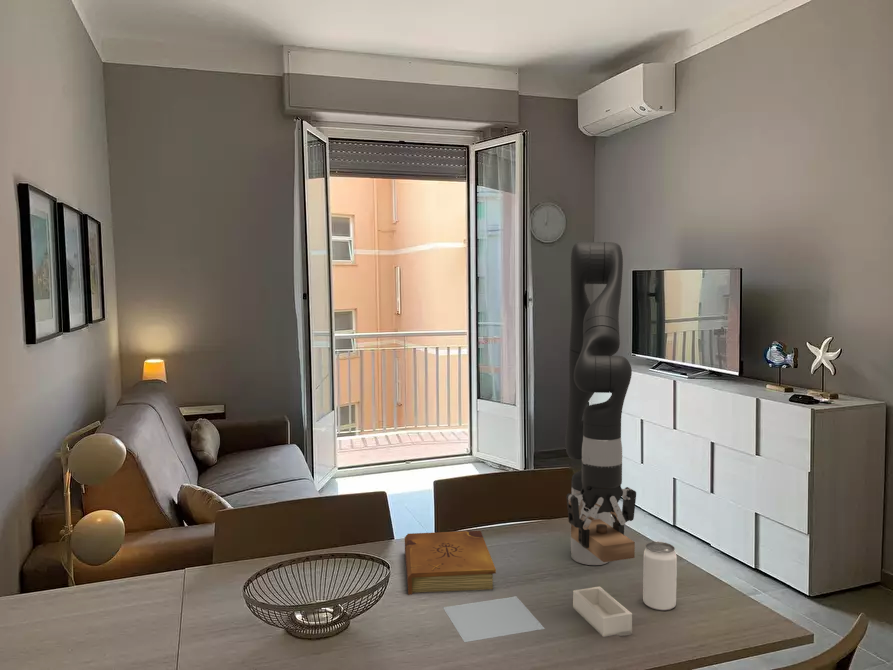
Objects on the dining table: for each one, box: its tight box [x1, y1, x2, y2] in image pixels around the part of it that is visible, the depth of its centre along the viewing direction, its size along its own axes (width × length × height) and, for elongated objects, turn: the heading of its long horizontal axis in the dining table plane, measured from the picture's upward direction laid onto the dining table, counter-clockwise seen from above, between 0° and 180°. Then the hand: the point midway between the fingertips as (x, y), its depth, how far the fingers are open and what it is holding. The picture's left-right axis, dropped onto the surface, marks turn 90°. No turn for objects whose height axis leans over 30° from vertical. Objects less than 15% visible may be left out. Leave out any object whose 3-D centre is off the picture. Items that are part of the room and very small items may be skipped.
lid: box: [570, 519, 636, 563], centre depth 131 cm, size 13×6×4 cm, turn 16°
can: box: [642, 541, 678, 611], centre depth 139 cm, size 6×6×12 cm
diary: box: [404, 530, 497, 596], centre depth 155 cm, size 23×19×6 cm
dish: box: [572, 586, 633, 638], centre depth 132 cm, size 12×6×4 cm, turn 17°
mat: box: [442, 595, 546, 643], centre depth 133 cm, size 14×16×1 cm
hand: (601, 544), depth 131 cm, fingers closed on lid, 6 cm apart
